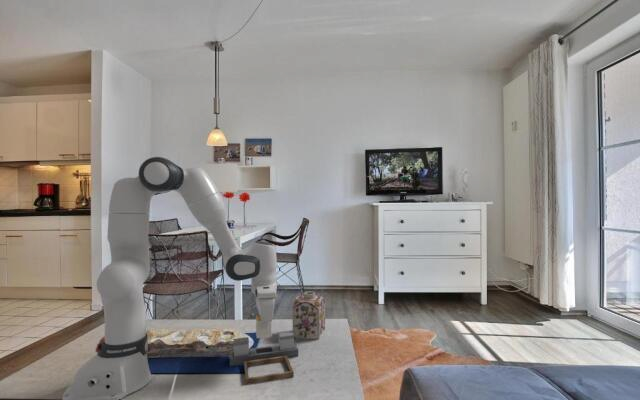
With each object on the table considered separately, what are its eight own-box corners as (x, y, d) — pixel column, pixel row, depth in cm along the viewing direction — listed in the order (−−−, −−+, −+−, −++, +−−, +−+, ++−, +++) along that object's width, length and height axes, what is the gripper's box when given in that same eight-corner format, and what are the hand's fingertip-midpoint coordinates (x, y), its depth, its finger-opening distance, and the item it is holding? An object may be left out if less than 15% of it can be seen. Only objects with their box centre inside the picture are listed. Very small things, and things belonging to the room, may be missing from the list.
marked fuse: (256, 338, 112) (257, 317, 112) (256, 335, 115) (256, 315, 115) (271, 336, 113) (271, 316, 114) (270, 333, 116) (270, 313, 116)
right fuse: (280, 357, 114) (280, 336, 114) (278, 353, 117) (278, 333, 117) (294, 355, 116) (293, 335, 116) (292, 351, 119) (292, 332, 119)
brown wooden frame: (246, 387, 97) (246, 379, 97) (243, 369, 108) (243, 361, 108) (293, 380, 101) (293, 372, 101) (286, 362, 112) (286, 355, 112)
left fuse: (233, 363, 110) (233, 342, 110) (233, 359, 112) (233, 339, 113) (248, 361, 111) (248, 340, 111) (248, 357, 114) (248, 337, 114)
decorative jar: (325, 331, 140) (325, 290, 141) (319, 342, 129) (319, 297, 129) (299, 328, 143) (299, 288, 143) (291, 339, 132) (291, 295, 132)
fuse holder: (230, 369, 108) (230, 358, 108) (229, 361, 113) (229, 351, 113) (298, 359, 115) (298, 349, 115) (294, 352, 120) (294, 342, 120)
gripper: (252, 280, 124) (252, 316, 123) (258, 295, 104) (257, 338, 104) (268, 279, 125) (268, 315, 125) (277, 293, 106) (276, 335, 105)
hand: (263, 325), depth 114 cm, fingers closed on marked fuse, 3 cm apart
